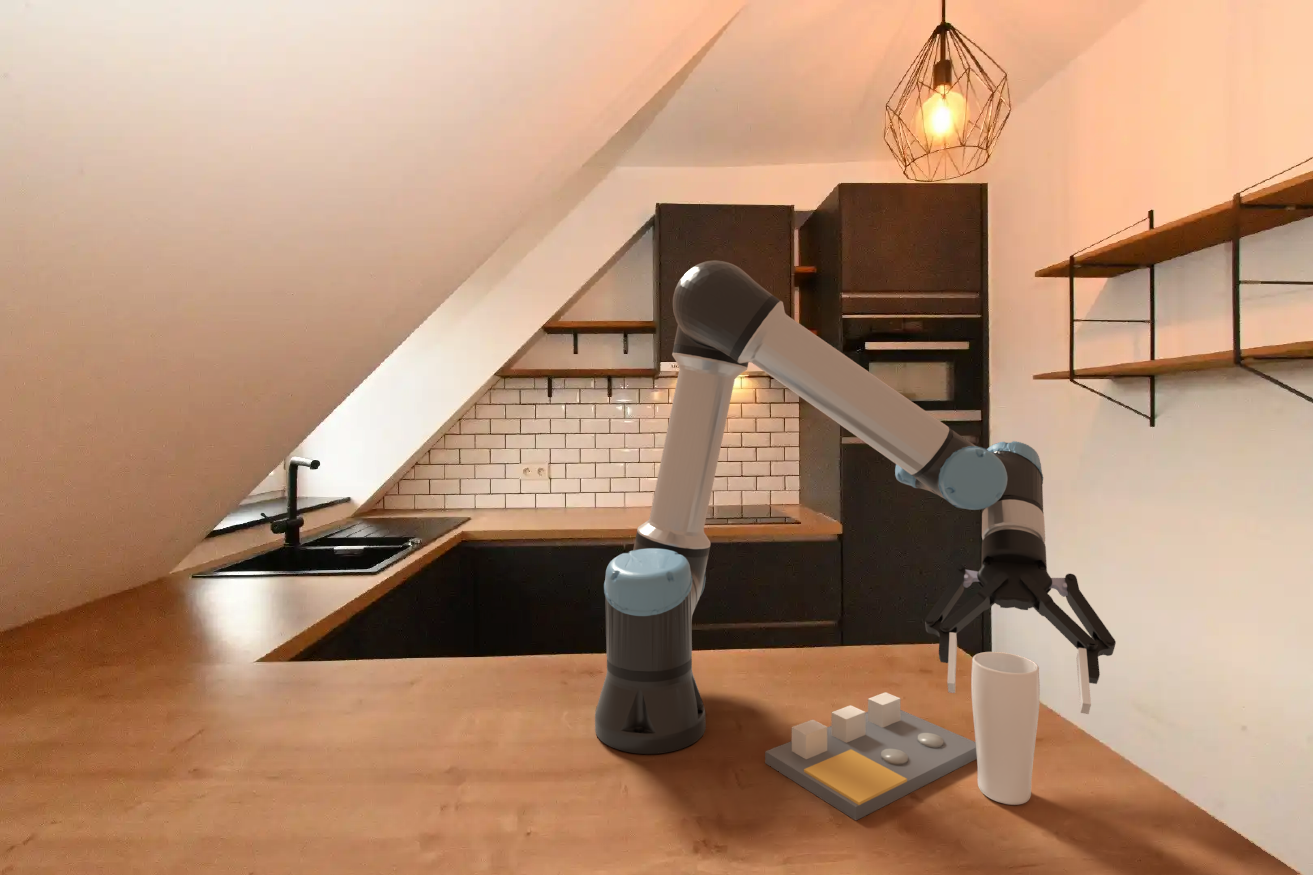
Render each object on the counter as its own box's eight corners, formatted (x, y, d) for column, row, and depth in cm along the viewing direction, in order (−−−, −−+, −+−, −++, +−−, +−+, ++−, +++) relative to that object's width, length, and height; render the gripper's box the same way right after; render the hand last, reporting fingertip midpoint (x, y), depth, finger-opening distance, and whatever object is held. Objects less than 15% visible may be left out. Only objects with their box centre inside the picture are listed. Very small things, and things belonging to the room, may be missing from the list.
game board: (765, 763, 83) (765, 727, 83) (887, 714, 96) (887, 683, 96) (855, 820, 72) (855, 778, 71) (981, 756, 84) (981, 720, 84)
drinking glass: (1036, 818, 72) (1038, 678, 71) (966, 799, 75) (967, 666, 74) (1040, 787, 77) (1041, 657, 77) (974, 771, 81) (975, 647, 80)
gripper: (1121, 566, 87) (1143, 731, 75) (915, 550, 99) (903, 692, 86) (1129, 532, 82) (1154, 704, 70) (911, 520, 93) (898, 666, 81)
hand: (1015, 698), depth 78 cm, fingers open, 13 cm apart
